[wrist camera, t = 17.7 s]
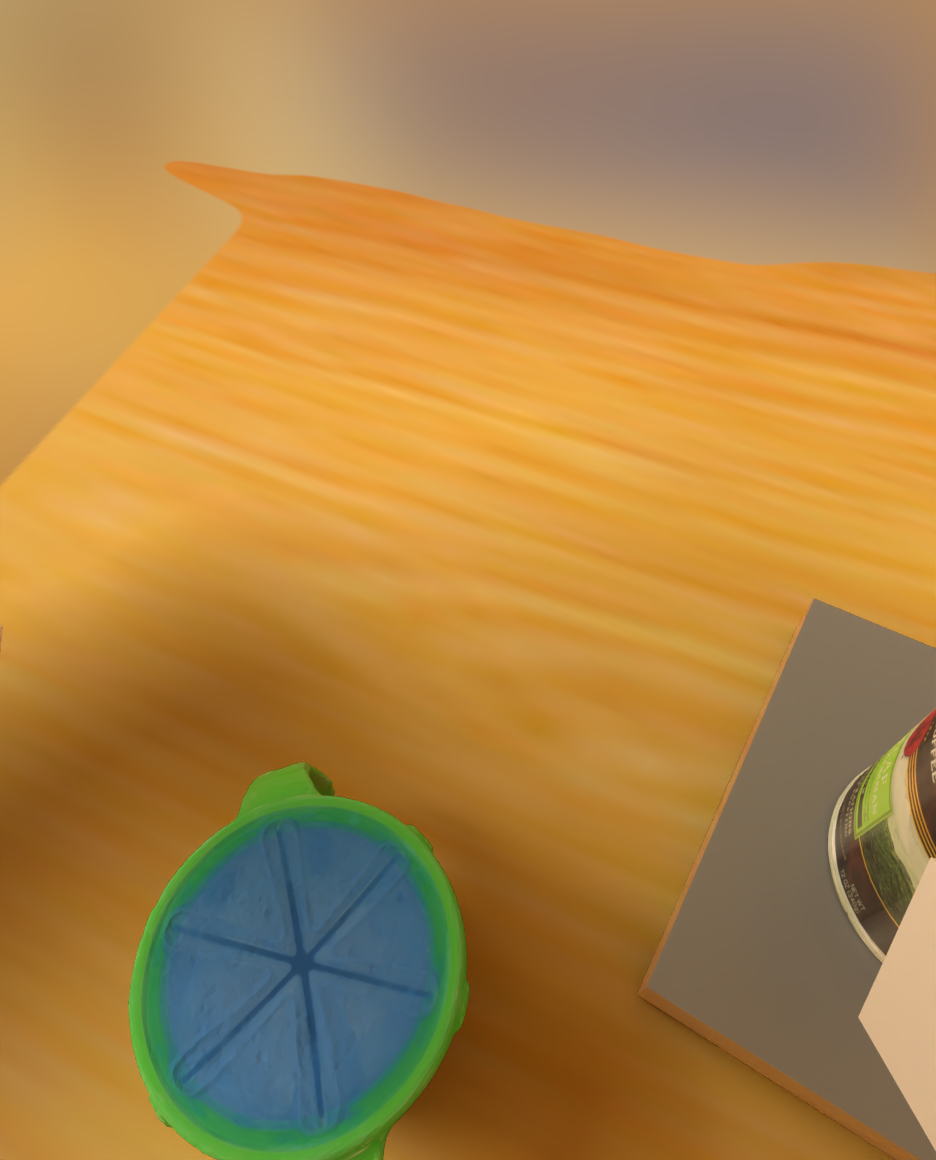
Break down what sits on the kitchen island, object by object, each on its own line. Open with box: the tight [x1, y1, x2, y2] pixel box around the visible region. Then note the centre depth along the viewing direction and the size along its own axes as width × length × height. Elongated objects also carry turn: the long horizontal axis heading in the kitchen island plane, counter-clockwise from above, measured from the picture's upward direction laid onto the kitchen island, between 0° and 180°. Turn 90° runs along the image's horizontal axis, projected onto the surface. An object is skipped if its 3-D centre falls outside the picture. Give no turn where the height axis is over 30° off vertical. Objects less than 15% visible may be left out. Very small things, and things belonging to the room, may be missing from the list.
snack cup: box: [128, 762, 470, 1160], centre depth 28 cm, size 16×10×10 cm
